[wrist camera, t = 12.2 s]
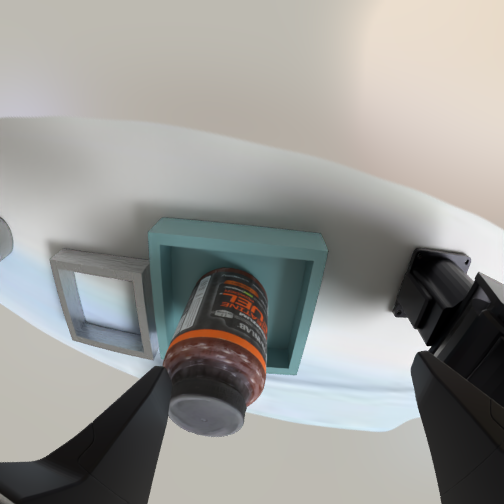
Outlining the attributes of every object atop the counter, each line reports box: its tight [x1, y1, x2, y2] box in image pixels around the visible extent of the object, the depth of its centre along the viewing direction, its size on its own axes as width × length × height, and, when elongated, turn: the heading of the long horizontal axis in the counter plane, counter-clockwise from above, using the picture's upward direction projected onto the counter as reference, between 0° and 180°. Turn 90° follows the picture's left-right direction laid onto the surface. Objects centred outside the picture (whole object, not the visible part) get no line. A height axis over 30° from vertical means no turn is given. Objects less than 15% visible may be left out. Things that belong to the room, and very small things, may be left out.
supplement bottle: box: [163, 267, 268, 437], centre depth 18 cm, size 6×6×11 cm
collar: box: [50, 249, 159, 360], centre depth 24 cm, size 9×9×2 cm
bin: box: [148, 217, 328, 375], centre depth 22 cm, size 12×12×3 cm
